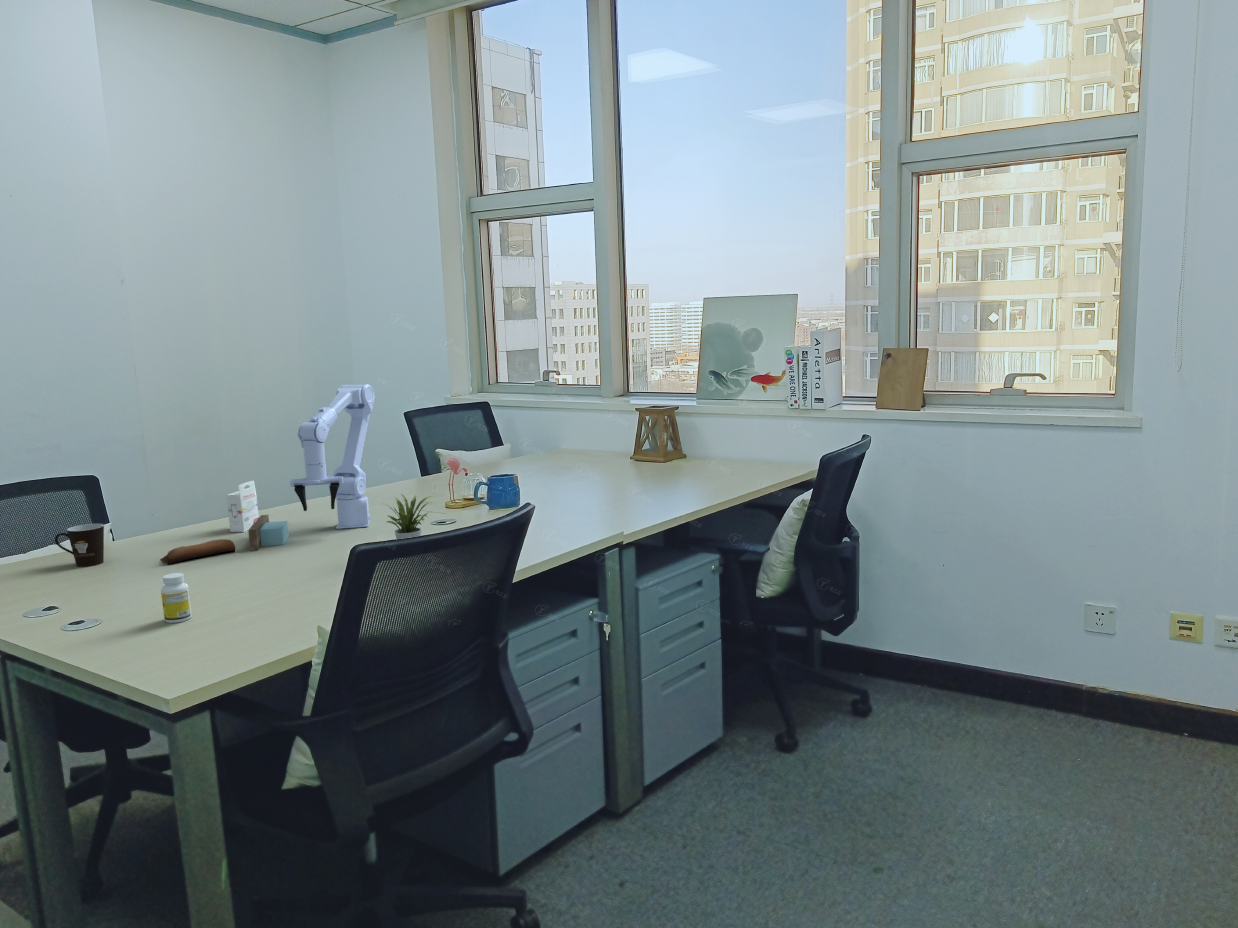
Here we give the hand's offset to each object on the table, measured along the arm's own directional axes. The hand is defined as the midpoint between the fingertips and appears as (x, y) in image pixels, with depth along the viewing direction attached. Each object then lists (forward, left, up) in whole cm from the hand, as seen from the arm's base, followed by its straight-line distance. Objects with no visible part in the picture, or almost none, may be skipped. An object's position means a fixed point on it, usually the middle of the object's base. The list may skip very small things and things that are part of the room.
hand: (319, 509), depth 268 cm
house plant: (-27, +26, -9) cm, 39 cm away
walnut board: (+17, 0, -8) cm, 19 cm away
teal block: (+13, +1, -9) cm, 15 cm away
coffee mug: (+60, +10, -9) cm, 61 cm away
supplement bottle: (+22, +69, -9) cm, 73 cm away
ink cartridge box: (+25, -20, -9) cm, 33 cm away
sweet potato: (+31, +12, -9) cm, 35 cm away
